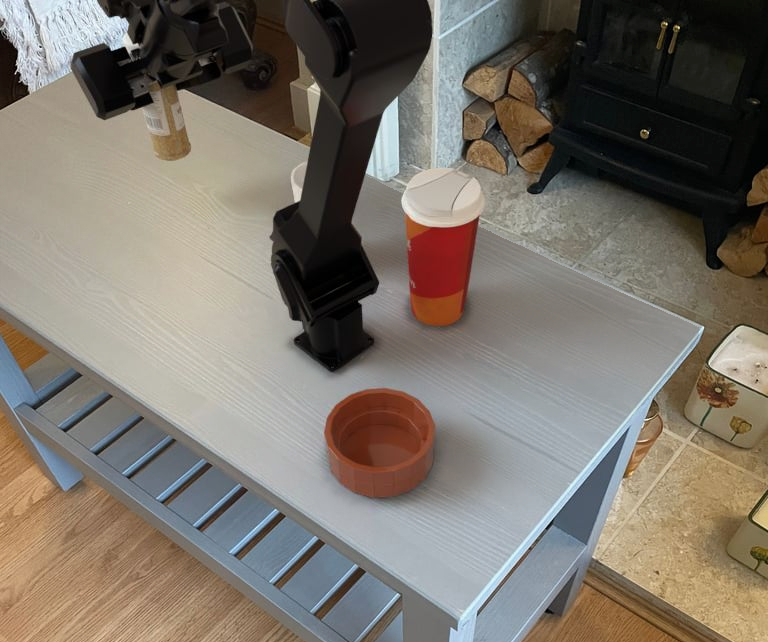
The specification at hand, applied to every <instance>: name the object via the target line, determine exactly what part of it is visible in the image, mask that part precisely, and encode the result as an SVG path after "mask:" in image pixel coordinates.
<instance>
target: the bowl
mask: <svg viewBox="0 0 768 642" xmlns="http://www.w3.org/2000/svg"><path fill="white" fill-rule="evenodd" d="M435 431H436V425H435V421H434V418H433V416H432V413H431V411H430V410H429V409H428V408H427V407H426V405H425V404H424V403H423V402H422V401H421V400H420V399H419V398H416V397H414V396H413V395H411V394H409V393H407V392H405V391H403V390H398V389H393V388H387V387H380V388H366V389H363V390H361V391H360V390H359V391H357V392H354V393H351V394H349V395H347V396H346V397H344V398H343V399H341V400H340V401H339V402H338V403H336V404H335V405H334V406H333V408H332V409H331V411H330V413H329V414H328V416H327V417H326V419H325V426H324V431H323V434H324V435H323V437H324V444H325V451H326V459H327V463H328V466H329V470H330V473H331V474H332V476H334V478H335V479H336V480H337V482H338V483H339V484H340V485H341V486H342V487H345V488H346V489H348V490H350V491H351V492H353V493H355V494H357V495H360V496H365V497H366V496H367V497H370V498H387V497H396V496H399V495H401V494H404V493H406V492H409V491H412V490H413V489H415V488H416V487H417V486H419V484H420V483H422V482H423V481H425V479H426V478H427V476H428V474H429V472H430V471H431V469H432V467H433V461H434V452H435V451H434V449H435Z"/></svg>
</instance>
